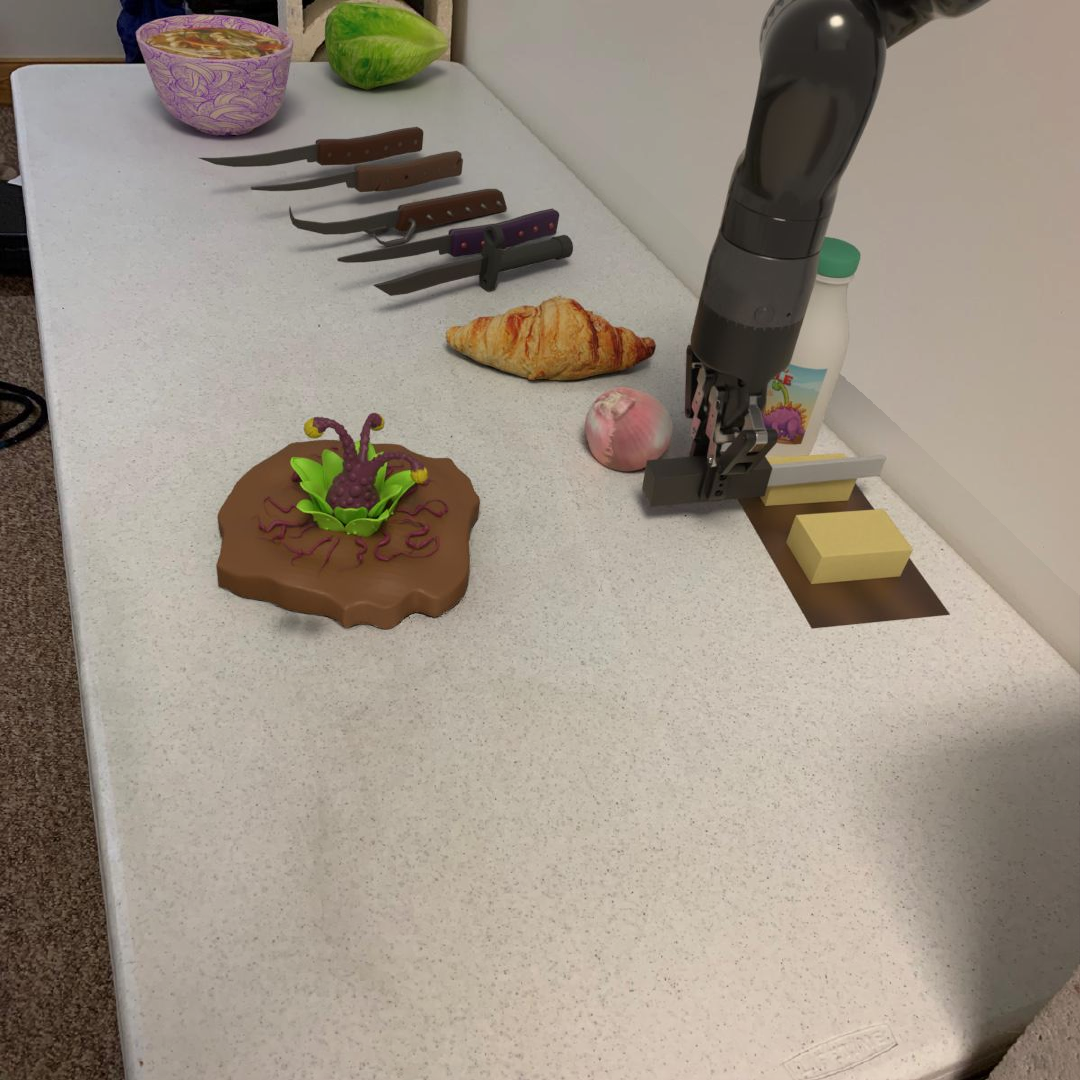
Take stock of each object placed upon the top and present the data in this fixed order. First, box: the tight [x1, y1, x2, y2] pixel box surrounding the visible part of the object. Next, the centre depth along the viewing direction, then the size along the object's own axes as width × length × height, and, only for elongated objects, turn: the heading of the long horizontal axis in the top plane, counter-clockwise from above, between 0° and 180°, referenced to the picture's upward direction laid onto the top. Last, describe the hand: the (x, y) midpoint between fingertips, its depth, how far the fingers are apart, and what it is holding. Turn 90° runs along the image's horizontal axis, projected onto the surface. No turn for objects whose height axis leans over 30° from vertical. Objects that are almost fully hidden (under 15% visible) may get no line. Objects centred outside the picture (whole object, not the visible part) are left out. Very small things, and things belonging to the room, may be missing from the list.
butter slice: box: [760, 452, 858, 506], centre depth 86 cm, size 8×3×3 cm, turn 103°
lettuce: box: [324, 1, 450, 91], centre depth 155 cm, size 14×20×12 cm
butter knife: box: [641, 454, 887, 508], centre depth 82 cm, size 21×2×3 cm, turn 103°
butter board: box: [737, 482, 951, 629], centre depth 83 cm, size 12×18×1 cm, turn 13°
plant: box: [215, 412, 481, 630], centre depth 75 cm, size 20×20×11 cm
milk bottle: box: [761, 236, 861, 458], centre depth 88 cm, size 8×8×20 cm
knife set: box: [198, 126, 574, 297], centre depth 117 cm, size 35×33×8 cm
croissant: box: [444, 295, 657, 381], centre depth 99 cm, size 21×10×8 cm, turn 93°
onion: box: [584, 386, 674, 472], centre depth 88 cm, size 8×8×7 cm
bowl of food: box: [135, 14, 295, 136], centre depth 135 cm, size 20×20×12 cm
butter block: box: [786, 508, 914, 584], centre depth 80 cm, size 8×5×3 cm, turn 103°
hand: (704, 486), depth 82 cm, fingers closed on butter knife, 2 cm apart
